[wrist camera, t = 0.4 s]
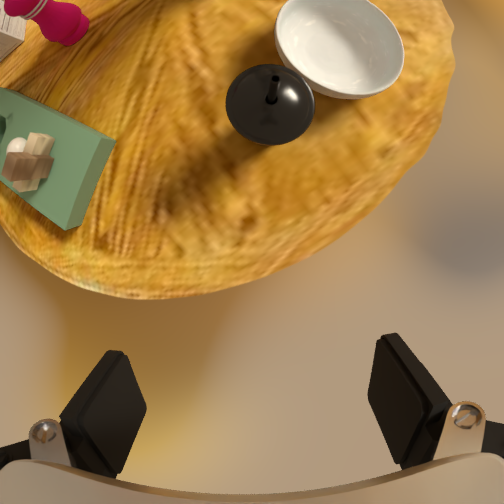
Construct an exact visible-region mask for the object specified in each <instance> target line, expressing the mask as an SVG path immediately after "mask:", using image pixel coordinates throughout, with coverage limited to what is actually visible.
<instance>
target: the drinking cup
mask: <svg viewBox="0 0 504 504" xmlns="http://www.w3.org/2000/svg"><path fill="white" fill-rule="evenodd" d="M226 112H227V115H228V118H229V120H230V122H231V124H232V126H233V127H234V128H235V129H236V131H237V132H238V133H239V134H241V135H242V136H243V137H245V138H246V139H248V140H250V141H252V142H255V143H257V144H259V145H264V146H268V145H269V146H274V145H282V144H285V143H288V142H291V141H293V140H295V139H296V138H298V137H299V136H300V135H302V134H303V133H304V132H305V131H306V130H307V128H308V127H309V125H310V124H311V122H312V119H313V116H314V112H315V100H314V95H313V93H312V90H311V88H310V86H309V85H308V83H307V82H306V81H305V80H304V78H303V77H301V76H300V75H299V74H298V73H296V72H295V71H293V70H291V69H289V68H287V67H284V66H281V65H275V64H263V65H258V66H254V67H251V68H249V69H247V70H245V71H244V72H242V73H241V74H240V75H238V76H237V77H236V78H235V80H234V81H233V82H232V84H231V85H230V87H229V89H228V92H227V96H226Z"/></svg>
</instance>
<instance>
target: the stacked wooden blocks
mask: <svg viewBox="0 0 504 504" xmlns="http://www.w3.org/2000/svg"><path fill="white" fill-rule="evenodd" d="M54 141H55V138H53V137H51V136H50V135H48V134H41V133H31V132H30V134H29V136H28V139H27V142H26V145H25V147H24V150H23V152H8V153H7V156H6V159H5V163H4V166H3V169H2V173H1V175H2V176H4V177H5V178H6V179H7V180H8V181H10V182H13V181H14V182H13V186H12V187H13V188H15V189H16V190H17V191H18V192H25V191H32V190H37V188H38V185H39V182H40V179H41V178H48V175H49V172H50V169H51V167H52V164H53V161H54V158H53V157H51V156H50V155H49V153H50V151H51V148H52V146H53V143H54Z"/></svg>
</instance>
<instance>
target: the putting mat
mask: <svg viewBox="0 0 504 504" xmlns="http://www.w3.org/2000/svg"><path fill="white" fill-rule="evenodd" d="M30 132H31V133H41V134H48V135H50V136H51V137H53V138H55V141H54V143H53V146H52V148H51V151H50V153H49V155H50V156H51V157H53V158H54V161H53V164H52V167H51V169H50V172H49V175H48V178H41V179H40V182H39V185H38V188H37V190H32V191H25V192H18V191H17V190H16V189H15V188H13V187H12V186H13V182H14V181H13V182H10V181H8V180H7V179H6V178H5V177H4V176H2V175H1V173H2V169H3V166H4V163H5V159H6V156H7V155H6V150H7V147H8V144H9V143H10V142H11V141H12V140H13V139H15V138H17V137H22V138H24V139H25V140H26V141H27V139H28V136H29V134H30ZM115 143H116V140H114V139H112V138H110V137H108V136H106V135H104V134H102V133H100V132H98V131H96V130H94V129H92V128H90V127H88V126H86V125H84V124H82V123H80V122H78V121H77V120H75V119H72V118H70V117H68V116H66V115H64V114H62V113H60V112H58V111H56V110H54V109H52V108H50V107H48V106H46V105H44V104H42V103H40V102H38V101H36V100H33V99H31V98H29V97H27V96H25V95H23V94H21V93H19V92H16V91H14V90H11V89H7V88H2V87H0V181H2V182H3V183H4V184H5V185H6V186H8V187H9V188H10V189H11V190H12V191H14V192H15V193H16V194H17V195H19V196H20V197H21V198H22V199H24V200H25V201H26V202H27V203H29V204H30V205H31V206H33V207H34V208H35V209H37V210H38V211H39V212H40V213H42V214H43V215H44V216H46V217H47V218H48V219H50V220H51V221H53V222H54V223H55V224H57V225H58V226H59V227H61V228H62V229H64V230H68V229H71V228H74V227H77V226H80V225H81V224H82V221H83V219H84V216H85V213H86V210H87V208H88V205H89V202H90V200H91V197H92V195H93V192H94V190H95V187H96V185H97V182H98V180H99V178H100V175H101V173H102V171H103V169H104V166H105V164H106V162H107V160H108V158H109V155H110V153H111V151H112V149H113V147H114V145H115Z"/></svg>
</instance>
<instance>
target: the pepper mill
mask: <svg viewBox="0 0 504 504" xmlns="http://www.w3.org/2000/svg"><path fill="white" fill-rule="evenodd" d="M4 11H5V13H6V14H7V15H9V16H11V17H17V16H20V17H21V18H23V19H24V20H29V19H31V20H33V21H35V22H36V23H37V24H38V25H39V26H40V29H41V32H42V34H43V35H44V37H45V38H46V39H48V40H49V41H52V42H57V41H58V42H59V43H61V44H63V45H65V46H69V45H72V44H74V43H76V42H77V41H79V40H80V39H81V38H82V37H83V36H84V34H85V33H86V31H87V30H88V27H89V19H88V18H87V17H86V16H84V15H83V14H81V9H80V8H79V7H78V6H76V5H74V4H71V3H64V2H56V1H53V0H5V2H4Z"/></svg>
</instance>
